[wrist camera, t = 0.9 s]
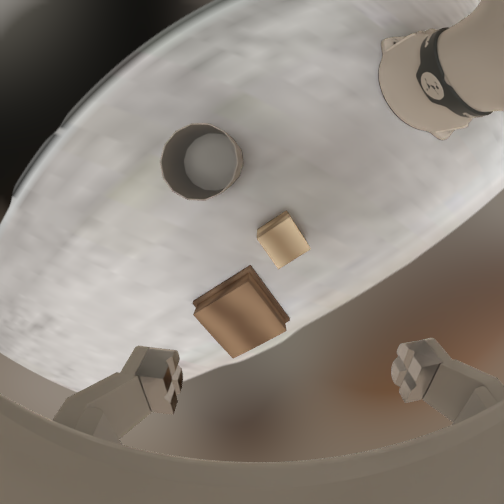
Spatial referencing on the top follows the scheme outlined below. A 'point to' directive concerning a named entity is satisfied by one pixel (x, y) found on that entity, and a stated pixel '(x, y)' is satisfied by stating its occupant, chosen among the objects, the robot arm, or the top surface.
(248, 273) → the walnut pedestal
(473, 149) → the top surface
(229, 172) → the cup
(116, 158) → the top surface
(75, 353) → the top surface
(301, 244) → the maple cube
